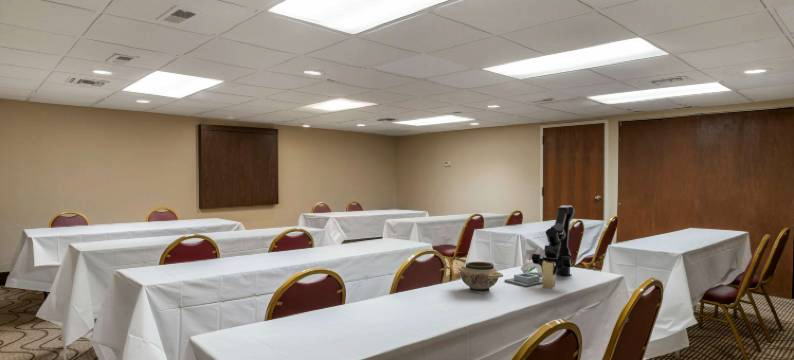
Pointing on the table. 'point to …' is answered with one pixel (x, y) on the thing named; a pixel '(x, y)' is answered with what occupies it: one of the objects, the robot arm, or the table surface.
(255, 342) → the table surface
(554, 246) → the robot arm
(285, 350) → the table surface
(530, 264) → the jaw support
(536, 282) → the housing plate
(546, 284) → the tan rectangular block
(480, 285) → the ceramic bowl
